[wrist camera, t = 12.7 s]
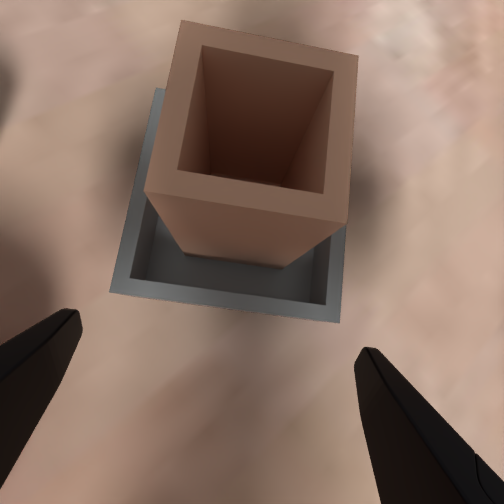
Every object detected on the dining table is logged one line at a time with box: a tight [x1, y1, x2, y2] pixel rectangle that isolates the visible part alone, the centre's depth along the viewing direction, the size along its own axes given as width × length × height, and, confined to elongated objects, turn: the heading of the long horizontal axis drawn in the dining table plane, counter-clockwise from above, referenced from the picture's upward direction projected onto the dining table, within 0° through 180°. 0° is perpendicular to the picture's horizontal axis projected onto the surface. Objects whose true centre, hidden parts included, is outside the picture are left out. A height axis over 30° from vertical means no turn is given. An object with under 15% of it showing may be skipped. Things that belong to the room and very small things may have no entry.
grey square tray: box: [109, 88, 346, 323], centre depth 18 cm, size 12×12×4 cm
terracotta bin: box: [144, 20, 358, 270], centre depth 14 cm, size 6×6×10 cm
